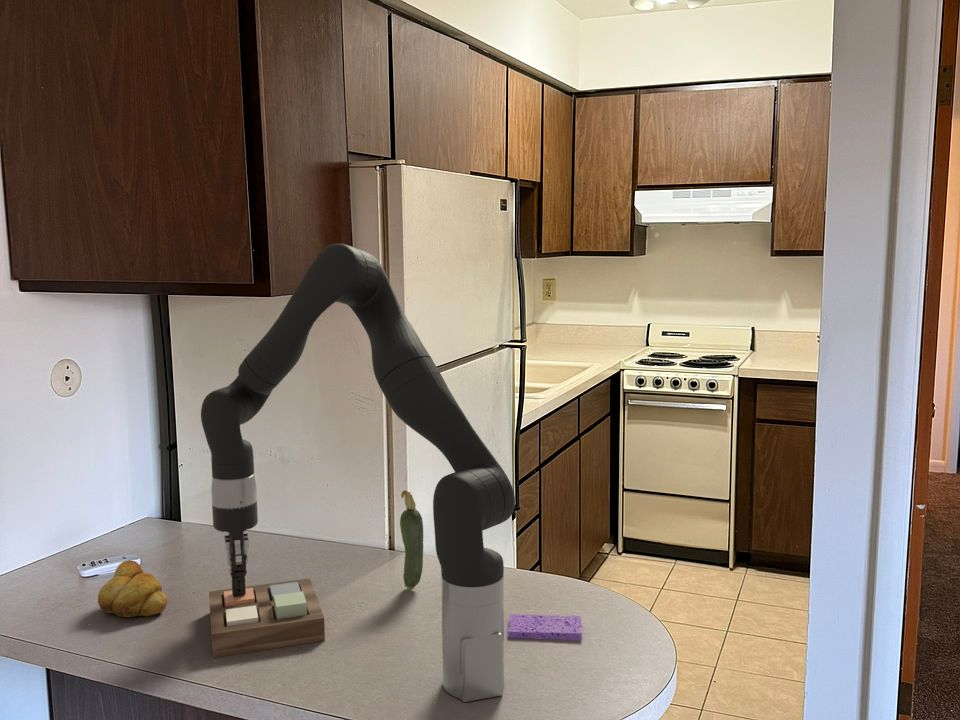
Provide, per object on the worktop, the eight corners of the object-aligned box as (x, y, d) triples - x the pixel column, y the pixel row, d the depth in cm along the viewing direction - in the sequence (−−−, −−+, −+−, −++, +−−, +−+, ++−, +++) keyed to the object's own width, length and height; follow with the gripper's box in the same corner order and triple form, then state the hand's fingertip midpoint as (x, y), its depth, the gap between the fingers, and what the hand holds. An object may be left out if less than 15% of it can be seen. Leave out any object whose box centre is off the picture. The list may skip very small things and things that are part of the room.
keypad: (324, 640, 143) (324, 617, 142) (212, 657, 137) (211, 634, 137) (310, 598, 160) (309, 578, 159) (210, 612, 154) (208, 591, 154)
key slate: (301, 608, 152) (301, 592, 151) (273, 612, 150) (272, 596, 150) (298, 597, 156) (297, 581, 156) (270, 601, 155) (269, 585, 154)
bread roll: (180, 608, 156) (177, 567, 155) (135, 629, 148) (132, 585, 147) (133, 594, 163) (130, 554, 161) (87, 614, 154) (84, 571, 153)
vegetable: (426, 586, 165) (424, 486, 162) (422, 596, 161) (420, 493, 158) (403, 586, 165) (401, 486, 163) (399, 595, 161) (397, 492, 158)
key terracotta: (255, 614, 149) (254, 598, 149) (225, 618, 148) (224, 602, 147) (253, 603, 154) (252, 587, 154) (224, 607, 152) (223, 591, 152)
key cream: (258, 634, 142) (258, 617, 141) (227, 639, 140) (226, 621, 140) (256, 621, 146) (256, 605, 146) (226, 626, 145) (225, 609, 144)
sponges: (581, 643, 142) (582, 633, 142) (506, 640, 144) (506, 630, 143) (581, 625, 149) (581, 615, 149) (509, 622, 150) (509, 612, 150)
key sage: (307, 619, 144) (306, 602, 144) (277, 623, 143) (276, 606, 142) (303, 607, 149) (302, 591, 148) (274, 611, 147) (273, 595, 147)
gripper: (259, 508, 143) (264, 606, 145) (254, 487, 155) (258, 578, 158) (212, 513, 141) (218, 613, 143) (211, 491, 153) (215, 583, 156)
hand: (239, 594), depth 150 cm, fingers closed
